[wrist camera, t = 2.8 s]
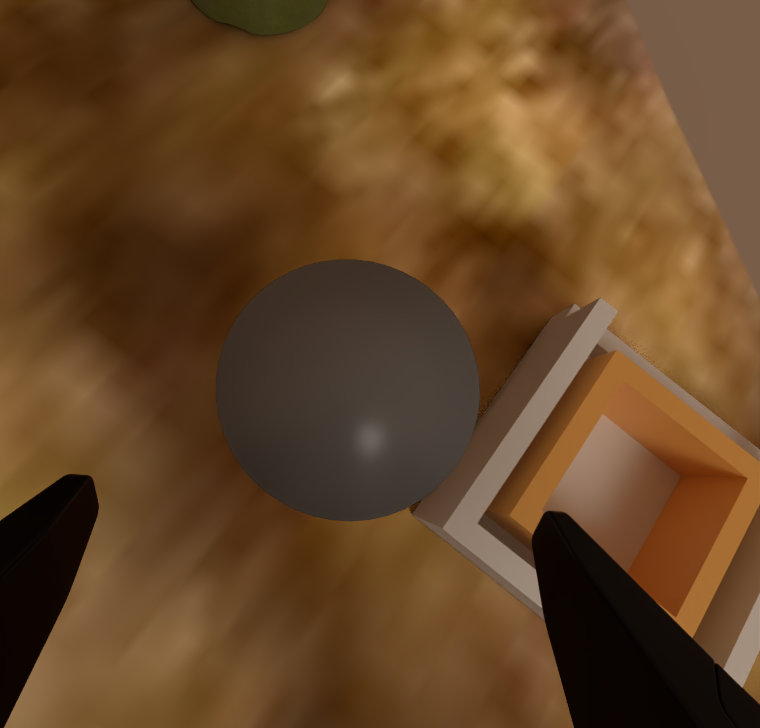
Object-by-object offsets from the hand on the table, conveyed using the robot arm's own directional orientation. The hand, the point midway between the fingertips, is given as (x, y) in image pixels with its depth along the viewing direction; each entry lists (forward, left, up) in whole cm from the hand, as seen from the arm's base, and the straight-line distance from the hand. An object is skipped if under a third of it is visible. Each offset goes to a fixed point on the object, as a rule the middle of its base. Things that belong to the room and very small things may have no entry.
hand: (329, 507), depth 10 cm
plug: (+2, +1, -10) cm, 10 cm away
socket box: (+7, -9, -9) cm, 15 cm away
